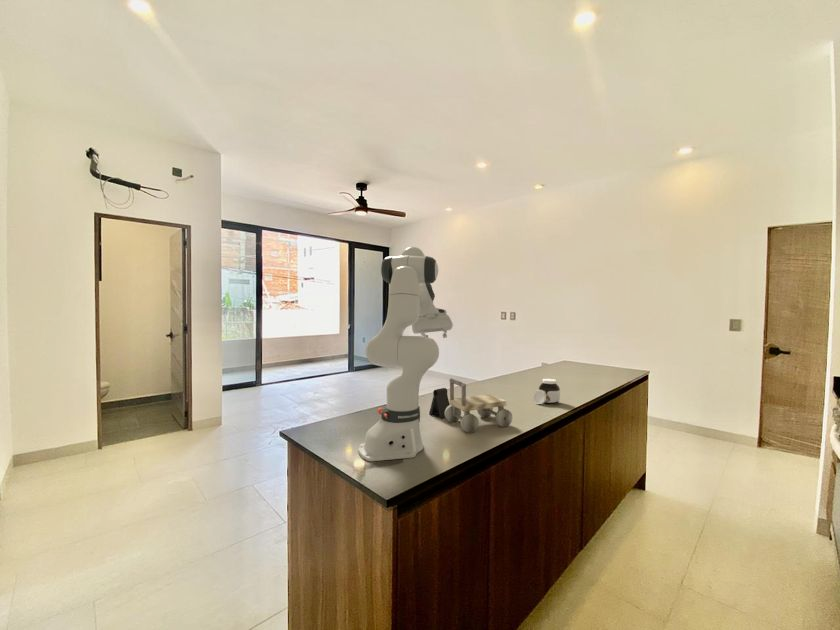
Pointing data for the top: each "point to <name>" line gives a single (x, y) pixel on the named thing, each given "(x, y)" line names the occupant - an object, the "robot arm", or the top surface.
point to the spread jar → (547, 392)
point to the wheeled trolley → (478, 403)
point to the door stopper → (439, 403)
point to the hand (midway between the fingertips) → (436, 338)
